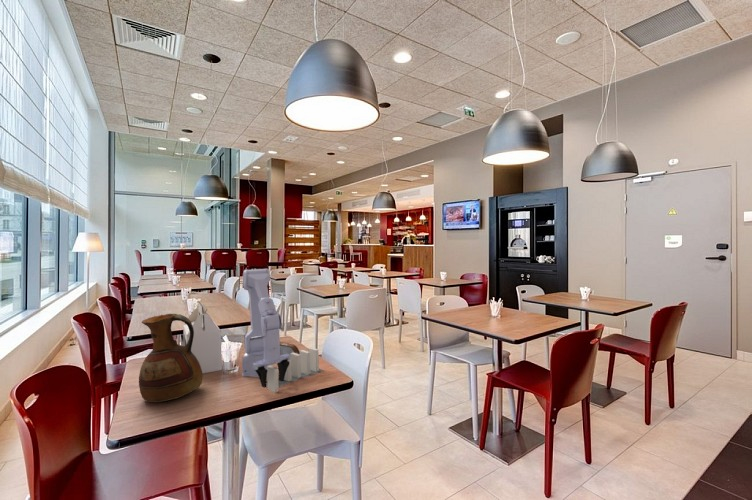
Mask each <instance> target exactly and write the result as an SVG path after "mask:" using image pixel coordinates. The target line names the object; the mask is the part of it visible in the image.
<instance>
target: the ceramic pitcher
mask: <svg viewBox="0 0 752 500" xmlns="http://www.w3.org/2000/svg"><path fill="white" fill-rule="evenodd" d="M188 318H189V317H187V316H185V315H182V314H178V313H165V314H159V315H154V316H152V317H148V318H146V319H143V320H142V321H141V324H143V325H144V326H146V327H147V328H148V329H149V331H150V337H151V339H152V341H153V345H152V350H151V351H150V352H149V353H148V354H147V355H146V357H145V358H144V360H143V363H142V365H141V367H140V370H139V376H138V387H139V388H138V389H139V391H140V392H139V393H140V396H141V397H142V399H143V400H144V401H145V402H150V403H160V402H166V401H170V400H175V399H177V398H178V399H179V398H181V397H183V396H185V395H187V394H189V393H191V392H194V391H195V390H197V389H198V388H199V387H201V386H202V383H203V381H204V380H203V379H204V378H203V377H204V376H203V374H204V373H203V374H202V369H201V366H200V364H199V361H198V360H197V358H196V357H195V355H194V354H193V353H192V352H191V347H192V342H193V336H194V329H193V326H192V323H191V321H190V320H189V319H188ZM175 321H179V322H183V323H184V324H185V323H186V324H187V326H188V328H189V331H190V337H189V340H188V343H187V344H186V345H185V346H184V345H182V344H181V345H180V344H178V343H177V342H176V341H175V339H174V337H173V333H172V332H173V331H172V324H173V322H175Z"/></svg>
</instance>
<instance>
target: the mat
mask: <svg viewBox="0 0 752 500" xmlns="http://www.w3.org/2000/svg"><path fill="white" fill-rule="evenodd" d="M324 371H325V370H324V369H321V368H319V371H317V372H315V371H313V370H310V374H308V375H306V374H304V373H301V377H300V378H297V377H294V376H292V380H291V381H286V380H284V381H283V382H282V381H280V380H279V377H278V388H279V387H282V386H284V385H287V384H290V383H293V382H296V381H298V380H302V379H305V378H307V377H310V376H314V375H316V374H318V373H322V372H324ZM266 384H267V381H266Z"/></svg>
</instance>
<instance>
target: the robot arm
mask: <svg viewBox="0 0 752 500" xmlns="http://www.w3.org/2000/svg"><path fill="white" fill-rule="evenodd" d="M270 279H271V273H270V270H269V269H268V268H259V269H244V270H243V273H242V286H243V287H242V288H243V290H245V291H247V292H248V298H249V299H248V301H249V314H250V316H249V317H250V330H249V331H248V332H247V333H246V334H245V335H244V342H243V346H244V348H243V349H244V352H245V353H244V354H243V356H242V361H241V362H242V363H241V364H242V374H241V377H252V378H254V377H255V378H259V381H260V384H261V387H262V388H267V383H266V382H267V371H268V370H267V366H270V365H271V366H273V365H275V364H276V366H277V368H278V378H279V380H280V381H282V382H283V381H284V377H285V373H286V370H287V368H288V366H289V361H288V360H291V356H290V354H284V355H280V342H281V341H280V340H281V339H280V337H281V335H280V330H281V329H282V317H281V314H280V312H279V311H277V309H276V306H275V302H274V299H273V298H271V297H270V296H269V289H268V285H269V284H270V283H269V282H270ZM257 336H262V337H257ZM253 337H255V338H253Z"/></svg>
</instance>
